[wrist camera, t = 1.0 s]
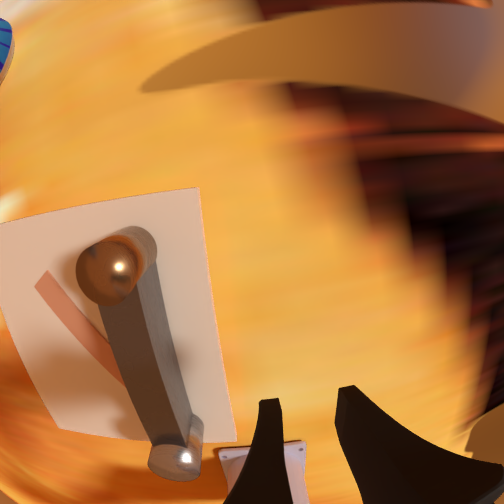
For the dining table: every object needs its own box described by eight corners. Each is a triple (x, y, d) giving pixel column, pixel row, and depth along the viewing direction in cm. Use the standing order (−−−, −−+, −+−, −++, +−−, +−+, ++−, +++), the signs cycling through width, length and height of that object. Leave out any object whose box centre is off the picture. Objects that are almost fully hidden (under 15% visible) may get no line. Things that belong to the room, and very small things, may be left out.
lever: (208, 437, 20) (204, 482, 16) (165, 437, 20) (156, 479, 16) (160, 221, 16) (132, 240, 11) (103, 229, 16) (63, 249, 11)
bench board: (236, 433, 22) (236, 443, 21) (62, 421, 21) (58, 429, 20) (199, 186, 17) (196, 187, 16) (-11, 227, 16) (-21, 229, 15)
